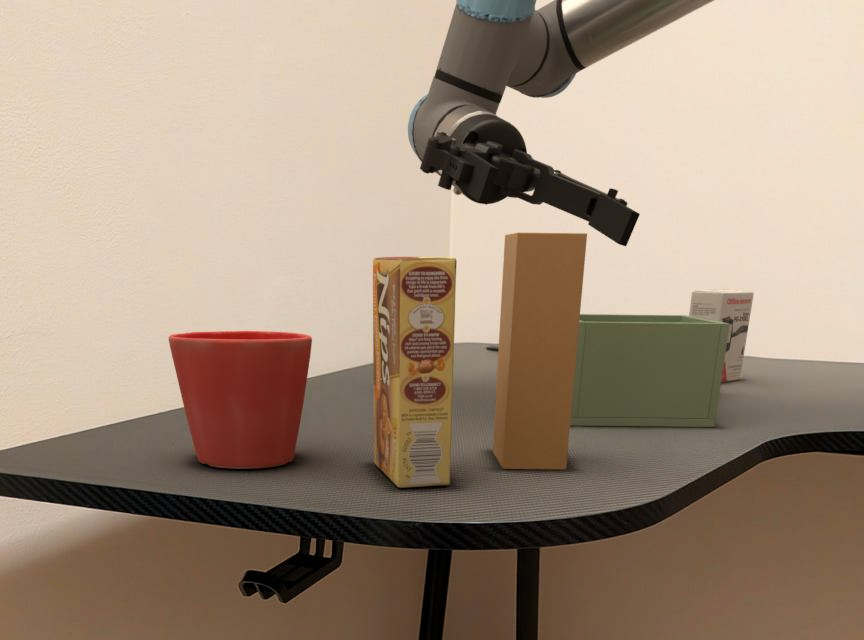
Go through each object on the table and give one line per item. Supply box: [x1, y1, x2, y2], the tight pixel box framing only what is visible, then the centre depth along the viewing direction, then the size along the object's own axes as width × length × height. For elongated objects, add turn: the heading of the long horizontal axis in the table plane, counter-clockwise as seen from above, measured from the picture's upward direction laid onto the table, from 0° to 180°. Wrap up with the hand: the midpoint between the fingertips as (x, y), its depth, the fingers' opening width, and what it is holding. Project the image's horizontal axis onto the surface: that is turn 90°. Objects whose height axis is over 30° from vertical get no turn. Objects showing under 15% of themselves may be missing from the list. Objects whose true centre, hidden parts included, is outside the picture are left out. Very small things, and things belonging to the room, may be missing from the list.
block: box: [492, 232, 588, 471], centre depth 71 cm, size 5×7×17 cm
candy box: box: [372, 256, 458, 489], centre depth 66 cm, size 9×4×15 cm, turn 13°
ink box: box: [688, 288, 754, 383], centre depth 124 cm, size 8×5×12 cm, turn 134°
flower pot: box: [168, 330, 313, 470], centre depth 72 cm, size 11×11×10 cm
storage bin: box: [570, 313, 730, 428], centre depth 95 cm, size 15×14×10 cm
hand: (561, 208), depth 75 cm, fingers open, 13 cm apart
